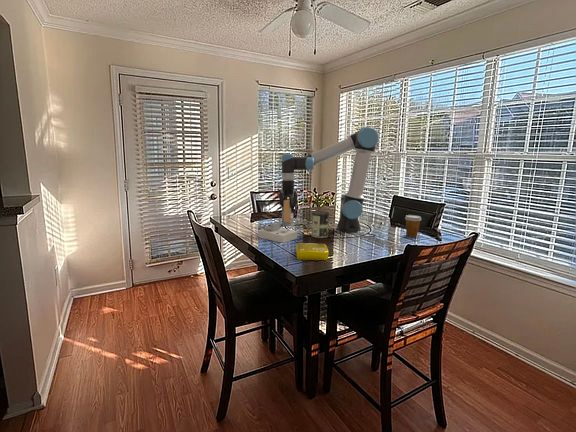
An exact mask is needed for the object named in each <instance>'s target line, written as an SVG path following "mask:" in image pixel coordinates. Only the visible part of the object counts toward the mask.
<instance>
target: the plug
mask: <svg viewBox="0 0 576 432" xmlns="http://www.w3.org/2000/svg"><path fill="white" fill-rule="evenodd" d="M290 207H291V206H290V200H289V199H287V200H284V221H286V222H291V221H293V220H294V217H293V218H291V219H290ZM293 222H294V221H293Z"/></svg>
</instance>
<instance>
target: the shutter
mask: <svg viewBox="0 0 576 432" xmlns="http://www.w3.org/2000/svg"><path fill="white" fill-rule="evenodd" d="M280 228H281V222H280V221H278V222H274V223H271V225H269V226H265V227H263V229H264V230H269V231H275V230H279V229H280Z"/></svg>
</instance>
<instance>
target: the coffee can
mask: <svg viewBox="0 0 576 432" xmlns="http://www.w3.org/2000/svg"><path fill="white" fill-rule="evenodd" d="M329 217H330V213H329V212H328V211H318V210H316V211H312V212H311V233H310V234H311V235H310V236H311V237H313V238H319V239H320V238H321V239H323V238H328V236H329V223H330V222H329V220H330V218H329Z"/></svg>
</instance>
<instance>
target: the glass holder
mask: <svg viewBox="0 0 576 432" xmlns="http://www.w3.org/2000/svg"><path fill="white" fill-rule="evenodd" d="M299 206H300V208H302V206H301V205H299ZM296 209H297V207H294V212H295V211H296ZM299 210H300V211H299V213H298V214H297V216H296V217H295V218H293V221H291V222H286V221H284V212H283V207H282V206H281V222H280V226H282V227H292V226H294V221H295V220H296V219H297V218H298V217H299V216H300V215H301V212H302V209H299Z"/></svg>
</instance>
